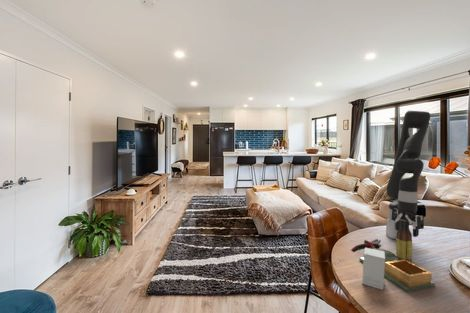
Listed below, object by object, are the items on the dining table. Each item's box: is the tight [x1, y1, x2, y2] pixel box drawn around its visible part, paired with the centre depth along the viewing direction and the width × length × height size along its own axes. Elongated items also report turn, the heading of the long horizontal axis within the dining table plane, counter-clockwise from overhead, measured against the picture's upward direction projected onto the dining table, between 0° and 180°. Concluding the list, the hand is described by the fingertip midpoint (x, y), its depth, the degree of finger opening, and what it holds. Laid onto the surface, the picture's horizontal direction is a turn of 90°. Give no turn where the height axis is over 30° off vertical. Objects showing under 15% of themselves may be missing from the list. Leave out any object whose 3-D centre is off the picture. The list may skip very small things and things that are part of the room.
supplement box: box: [361, 247, 385, 291], centre depth 95 cm, size 7×7×13 cm
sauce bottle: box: [395, 219, 413, 263], centre depth 114 cm, size 6×6×20 cm
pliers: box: [351, 238, 382, 252], centre depth 126 cm, size 3×9×22 cm
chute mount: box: [359, 248, 436, 293], centre depth 103 cm, size 24×14×6 cm, turn 14°
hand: (406, 233), depth 113 cm, fingers open, 8 cm apart
